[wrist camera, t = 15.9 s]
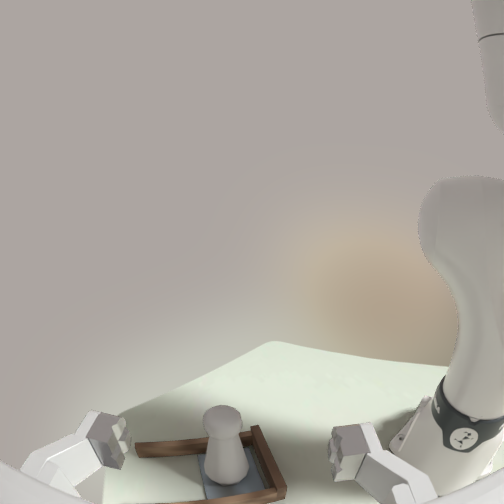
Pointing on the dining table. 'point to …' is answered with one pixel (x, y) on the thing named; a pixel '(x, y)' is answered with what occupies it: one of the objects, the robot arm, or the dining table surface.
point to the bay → (234, 496)
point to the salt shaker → (224, 446)
